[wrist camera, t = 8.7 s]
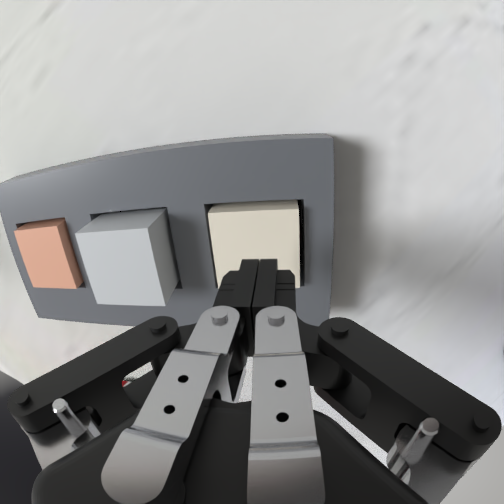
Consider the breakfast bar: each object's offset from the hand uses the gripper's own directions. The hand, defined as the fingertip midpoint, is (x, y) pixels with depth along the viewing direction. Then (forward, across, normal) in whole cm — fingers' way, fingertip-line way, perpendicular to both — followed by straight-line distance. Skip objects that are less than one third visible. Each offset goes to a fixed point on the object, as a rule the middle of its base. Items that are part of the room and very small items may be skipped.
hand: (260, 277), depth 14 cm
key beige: (+6, 0, 0) cm, 6 cm away
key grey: (+4, +7, 0) cm, 8 cm away
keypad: (+6, +8, 0) cm, 9 cm away
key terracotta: (+5, +14, 0) cm, 15 cm away
